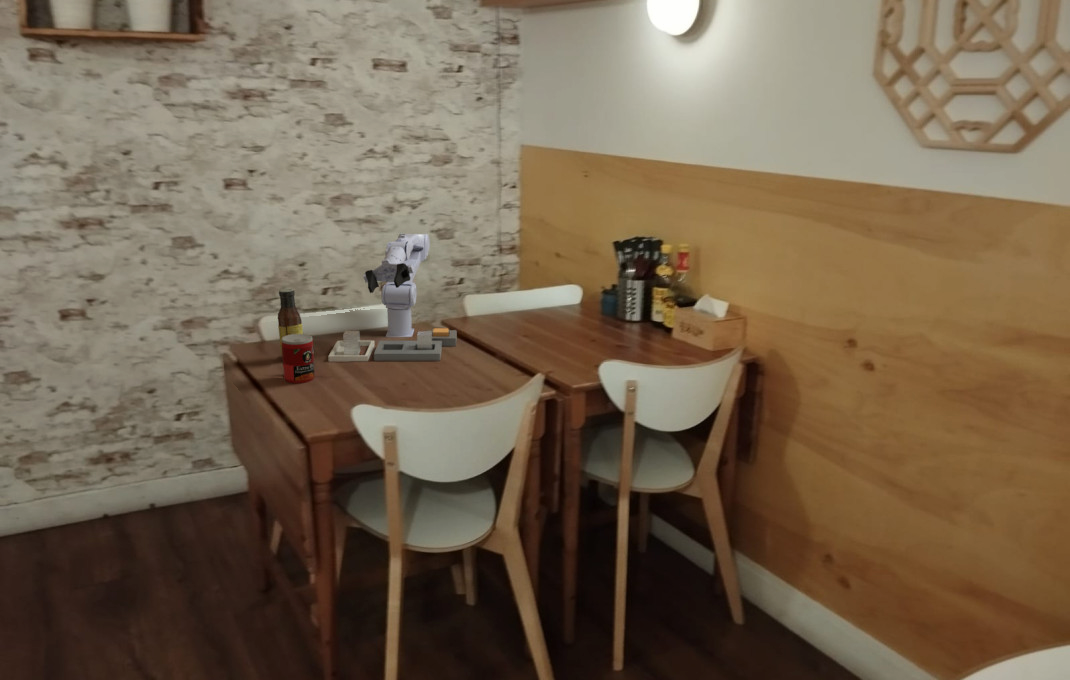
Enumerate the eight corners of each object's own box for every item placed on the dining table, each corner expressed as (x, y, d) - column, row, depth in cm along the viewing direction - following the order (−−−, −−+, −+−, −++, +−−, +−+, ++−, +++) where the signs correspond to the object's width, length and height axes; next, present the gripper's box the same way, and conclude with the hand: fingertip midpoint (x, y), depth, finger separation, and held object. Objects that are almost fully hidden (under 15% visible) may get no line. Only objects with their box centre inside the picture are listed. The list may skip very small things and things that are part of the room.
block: (418, 351, 238) (418, 331, 236) (432, 351, 238) (432, 331, 236) (417, 355, 234) (417, 335, 232) (431, 355, 234) (431, 335, 233)
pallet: (379, 349, 241) (379, 340, 241) (442, 349, 243) (441, 340, 242) (374, 362, 229) (373, 353, 228) (440, 362, 230) (439, 353, 230)
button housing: (426, 339, 252) (426, 330, 251) (456, 339, 253) (456, 330, 252) (424, 348, 243) (424, 338, 242) (455, 348, 244) (455, 338, 243)
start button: (433, 338, 250) (433, 328, 249) (448, 338, 250) (448, 328, 249) (433, 342, 245) (433, 332, 245) (448, 342, 246) (448, 332, 245)
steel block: (346, 351, 237) (345, 330, 236) (360, 351, 238) (359, 330, 236) (344, 355, 234) (343, 334, 232) (358, 355, 234) (357, 334, 232)
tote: (337, 347, 243) (337, 340, 242) (374, 347, 244) (374, 340, 243) (328, 363, 228) (328, 356, 227) (367, 363, 229) (367, 356, 228)
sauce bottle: (308, 357, 233) (304, 287, 227) (300, 364, 227) (295, 292, 221) (285, 356, 233) (281, 287, 228) (276, 363, 227) (271, 291, 222)
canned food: (297, 385, 210) (294, 343, 207) (277, 379, 214) (274, 338, 211) (321, 378, 215) (319, 337, 212) (301, 372, 220) (299, 332, 217)
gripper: (364, 257, 242) (353, 279, 230) (411, 247, 239) (403, 269, 228) (372, 278, 245) (362, 301, 234) (419, 269, 243) (411, 291, 231)
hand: (383, 287), depth 231 cm, fingers open, 7 cm apart
